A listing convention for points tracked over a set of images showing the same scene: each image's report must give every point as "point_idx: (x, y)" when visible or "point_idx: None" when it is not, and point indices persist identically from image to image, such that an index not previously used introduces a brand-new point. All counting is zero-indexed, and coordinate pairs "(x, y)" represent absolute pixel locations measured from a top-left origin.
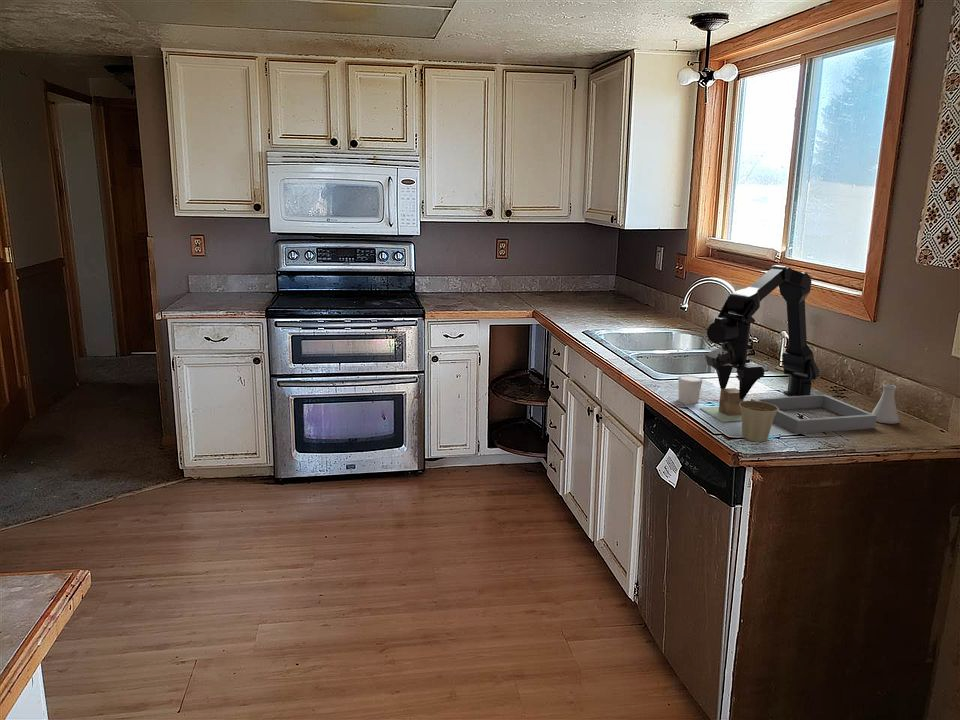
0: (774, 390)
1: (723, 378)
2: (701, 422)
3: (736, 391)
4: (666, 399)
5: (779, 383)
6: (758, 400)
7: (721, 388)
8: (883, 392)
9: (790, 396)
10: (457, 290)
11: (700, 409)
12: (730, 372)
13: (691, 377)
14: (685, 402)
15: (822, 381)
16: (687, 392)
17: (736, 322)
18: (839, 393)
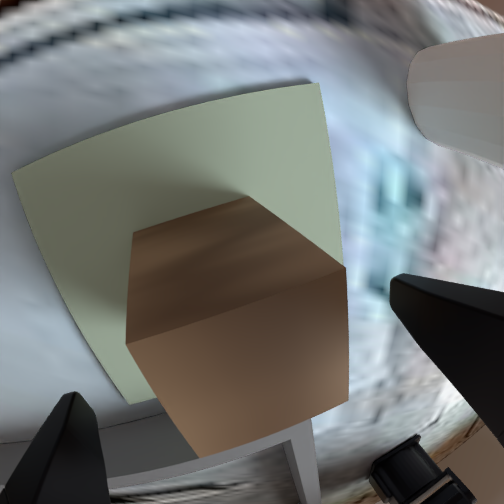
0: (439, 415)
1: (479, 349)
2: (13, 24)
3: (227, 413)
4: (449, 7)
5: (463, 414)
6: (274, 443)
7: (400, 282)
8: None
9: (318, 496)
10: None
11: (304, 84)
12: (498, 433)
13: None
14: (416, 58)
15: (436, 461)
16: (460, 55)
17: None
18: (377, 494)
